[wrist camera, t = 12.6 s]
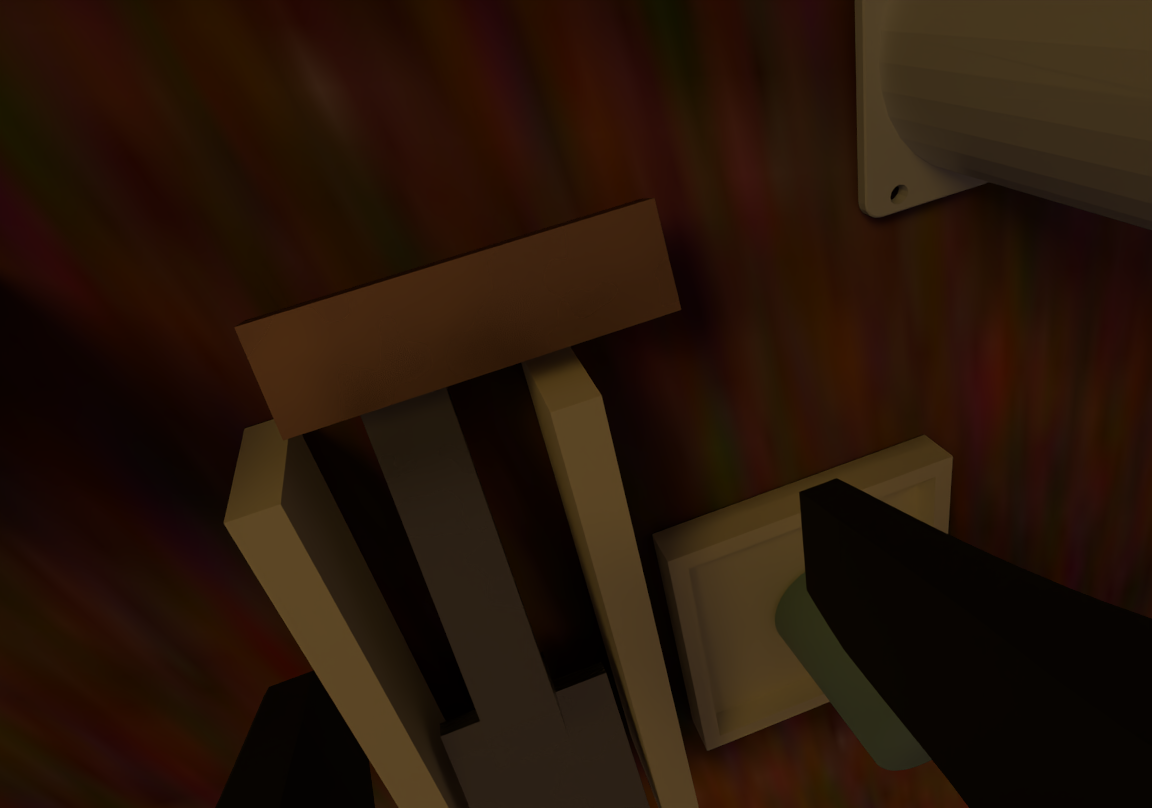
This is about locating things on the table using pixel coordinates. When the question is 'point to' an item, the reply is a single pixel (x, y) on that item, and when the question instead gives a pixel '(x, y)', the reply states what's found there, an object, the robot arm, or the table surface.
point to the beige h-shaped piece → (370, 633)
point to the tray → (769, 587)
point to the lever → (449, 478)
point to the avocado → (844, 682)
